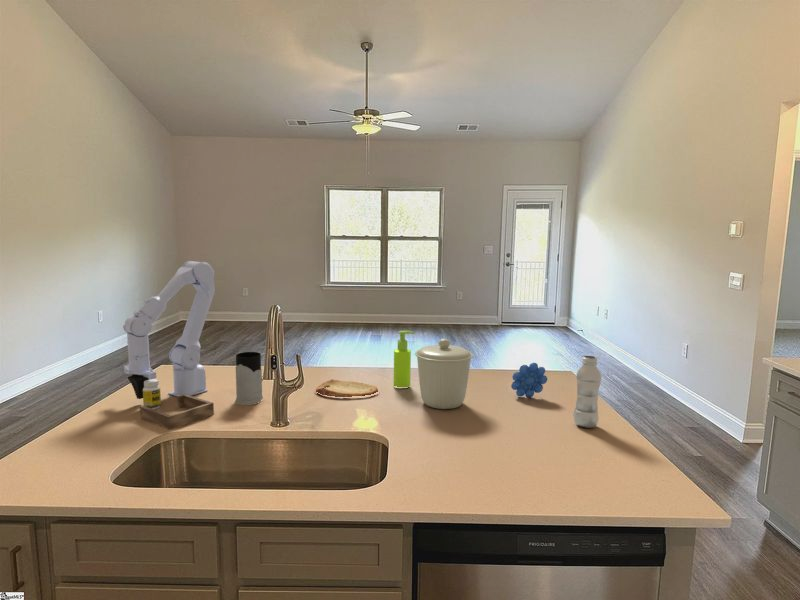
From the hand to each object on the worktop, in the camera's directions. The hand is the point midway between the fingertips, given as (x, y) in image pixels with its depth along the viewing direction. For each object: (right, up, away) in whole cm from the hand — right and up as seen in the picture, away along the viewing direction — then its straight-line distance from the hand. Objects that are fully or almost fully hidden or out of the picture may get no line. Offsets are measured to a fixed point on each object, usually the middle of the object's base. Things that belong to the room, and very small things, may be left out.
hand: (141, 397), depth 153 cm
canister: (+94, -3, +4) cm, 94 cm away
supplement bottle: (+5, -3, -3) cm, 6 cm away
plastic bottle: (+133, -6, -13) cm, 134 cm away
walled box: (+16, -3, -10) cm, 19 cm away
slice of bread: (+62, -2, +14) cm, 64 cm away
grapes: (+123, -2, +12) cm, 124 cm away
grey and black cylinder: (+33, -2, +7) cm, 34 cm away
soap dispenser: (+82, -1, +21) cm, 84 cm away
